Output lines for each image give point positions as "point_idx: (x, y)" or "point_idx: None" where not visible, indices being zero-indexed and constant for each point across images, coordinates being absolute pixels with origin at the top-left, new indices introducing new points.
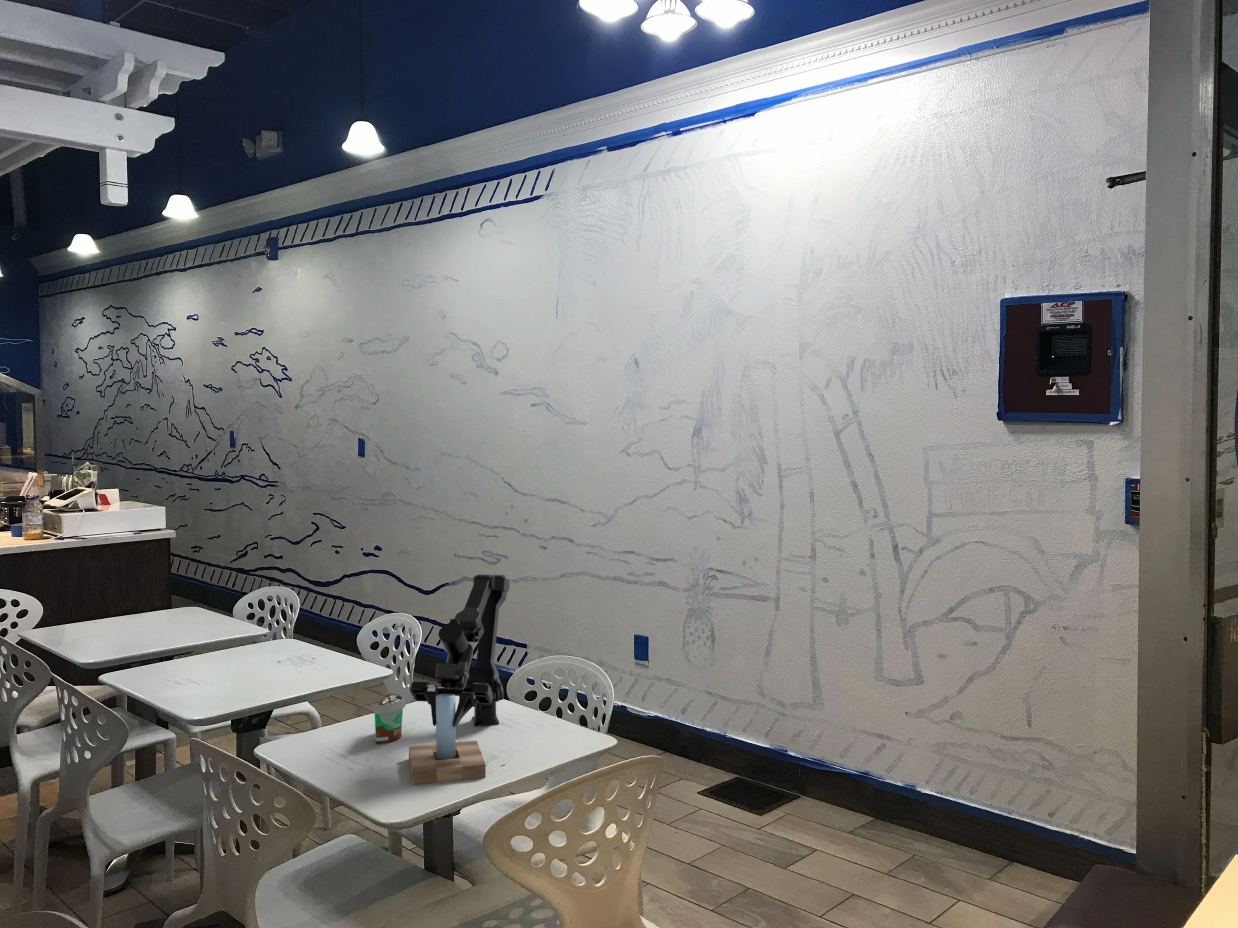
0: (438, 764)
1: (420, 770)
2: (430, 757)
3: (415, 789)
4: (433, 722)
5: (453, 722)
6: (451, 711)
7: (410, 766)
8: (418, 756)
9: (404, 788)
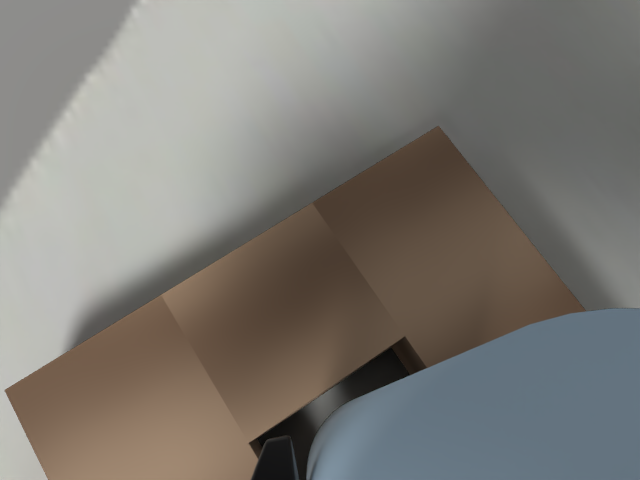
0: (341, 276)
1: (399, 149)
2: None
3: (371, 111)
4: None
5: (287, 453)
6: (324, 467)
7: None
8: None
9: (433, 106)
